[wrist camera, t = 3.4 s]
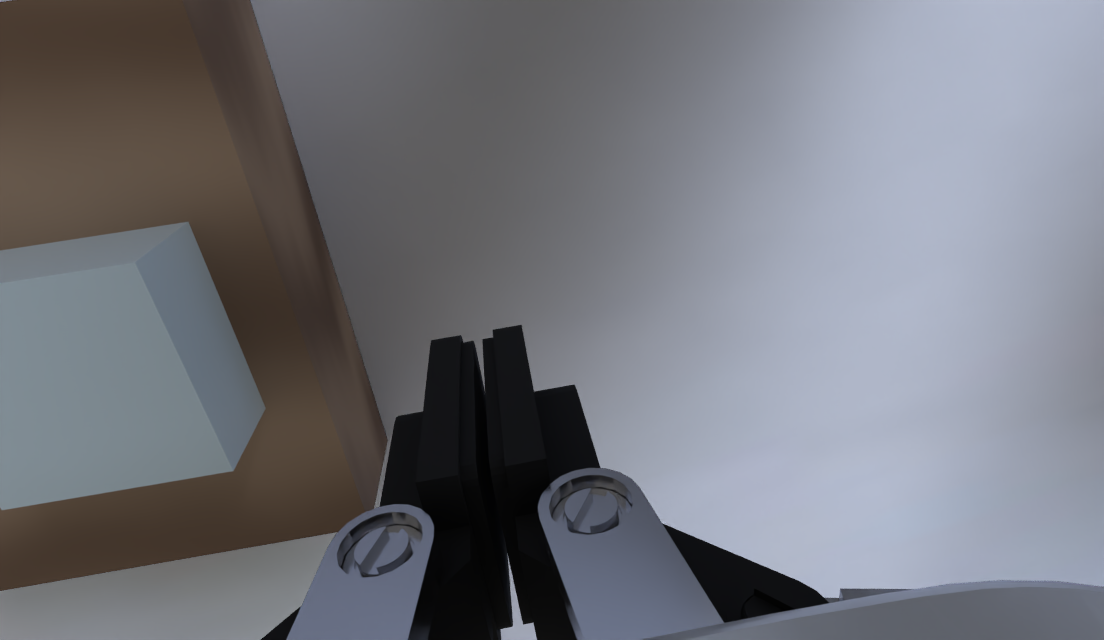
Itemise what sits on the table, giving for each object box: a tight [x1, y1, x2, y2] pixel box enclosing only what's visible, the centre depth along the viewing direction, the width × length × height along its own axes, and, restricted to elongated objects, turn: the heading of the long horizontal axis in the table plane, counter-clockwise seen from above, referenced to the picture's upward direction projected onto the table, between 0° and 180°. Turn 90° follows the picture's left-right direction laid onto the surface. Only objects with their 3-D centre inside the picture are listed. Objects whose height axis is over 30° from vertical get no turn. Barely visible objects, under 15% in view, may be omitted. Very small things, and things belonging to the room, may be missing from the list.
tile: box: [0, 222, 266, 510], centre depth 14 cm, size 5×5×2 cm
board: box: [0, 0, 387, 591], centre depth 16 cm, size 14×12×4 cm
